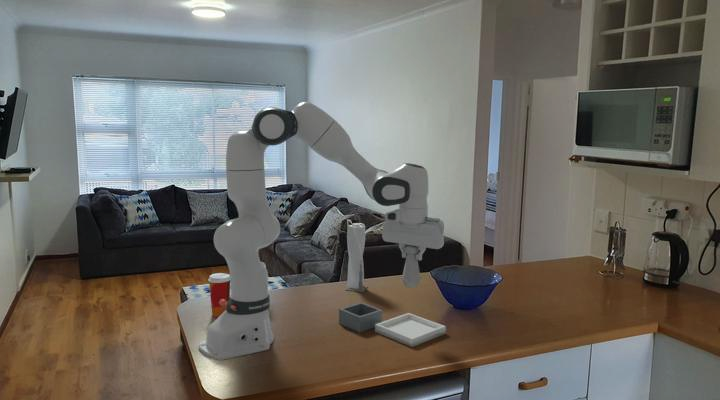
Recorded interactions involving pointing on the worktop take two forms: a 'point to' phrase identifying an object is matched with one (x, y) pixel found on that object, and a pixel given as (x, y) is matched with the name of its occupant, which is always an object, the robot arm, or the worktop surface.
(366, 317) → the hollow square frame
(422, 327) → the tray
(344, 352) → the worktop surface
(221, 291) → the paper cup
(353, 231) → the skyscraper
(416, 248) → the salt shaker
